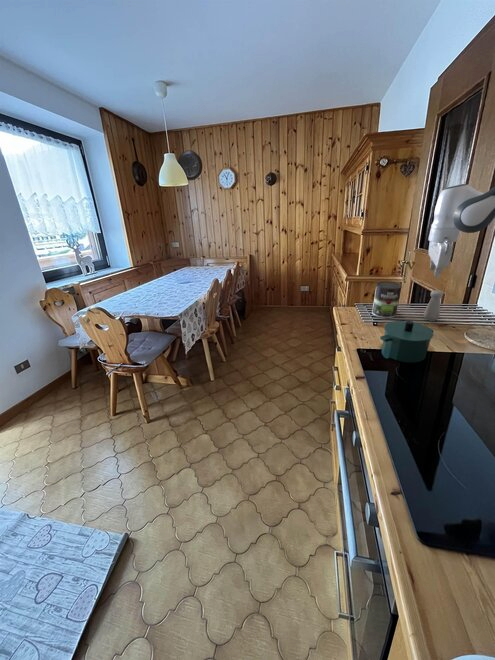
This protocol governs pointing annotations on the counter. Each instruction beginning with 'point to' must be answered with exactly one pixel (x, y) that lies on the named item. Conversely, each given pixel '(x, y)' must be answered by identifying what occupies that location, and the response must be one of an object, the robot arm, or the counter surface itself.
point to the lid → (408, 331)
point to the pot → (404, 349)
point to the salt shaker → (433, 306)
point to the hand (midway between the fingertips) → (434, 273)
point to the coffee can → (386, 299)
